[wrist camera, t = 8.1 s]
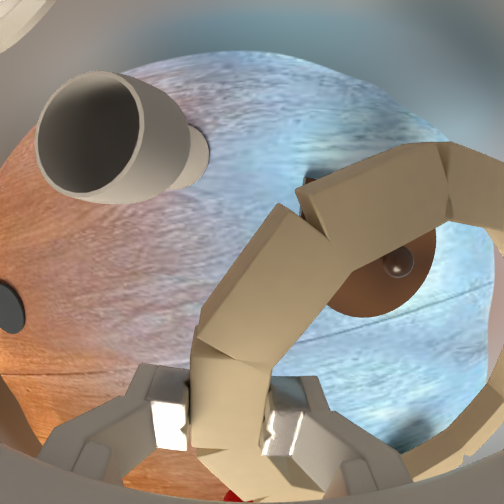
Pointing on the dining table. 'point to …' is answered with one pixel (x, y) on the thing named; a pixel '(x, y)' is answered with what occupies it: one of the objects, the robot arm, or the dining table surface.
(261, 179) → the dining table surface
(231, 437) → the hoop
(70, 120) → the wineglass
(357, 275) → the rack
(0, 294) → the coaster
